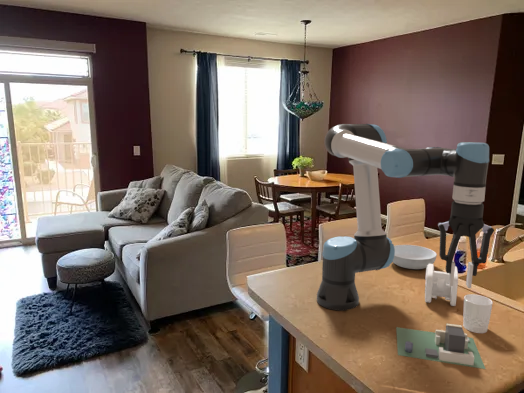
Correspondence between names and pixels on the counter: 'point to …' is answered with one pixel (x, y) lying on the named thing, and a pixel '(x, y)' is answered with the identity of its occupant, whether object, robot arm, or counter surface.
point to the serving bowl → (413, 256)
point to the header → (453, 356)
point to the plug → (454, 338)
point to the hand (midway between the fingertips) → (459, 285)
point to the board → (429, 346)
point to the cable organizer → (440, 285)
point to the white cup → (476, 313)
